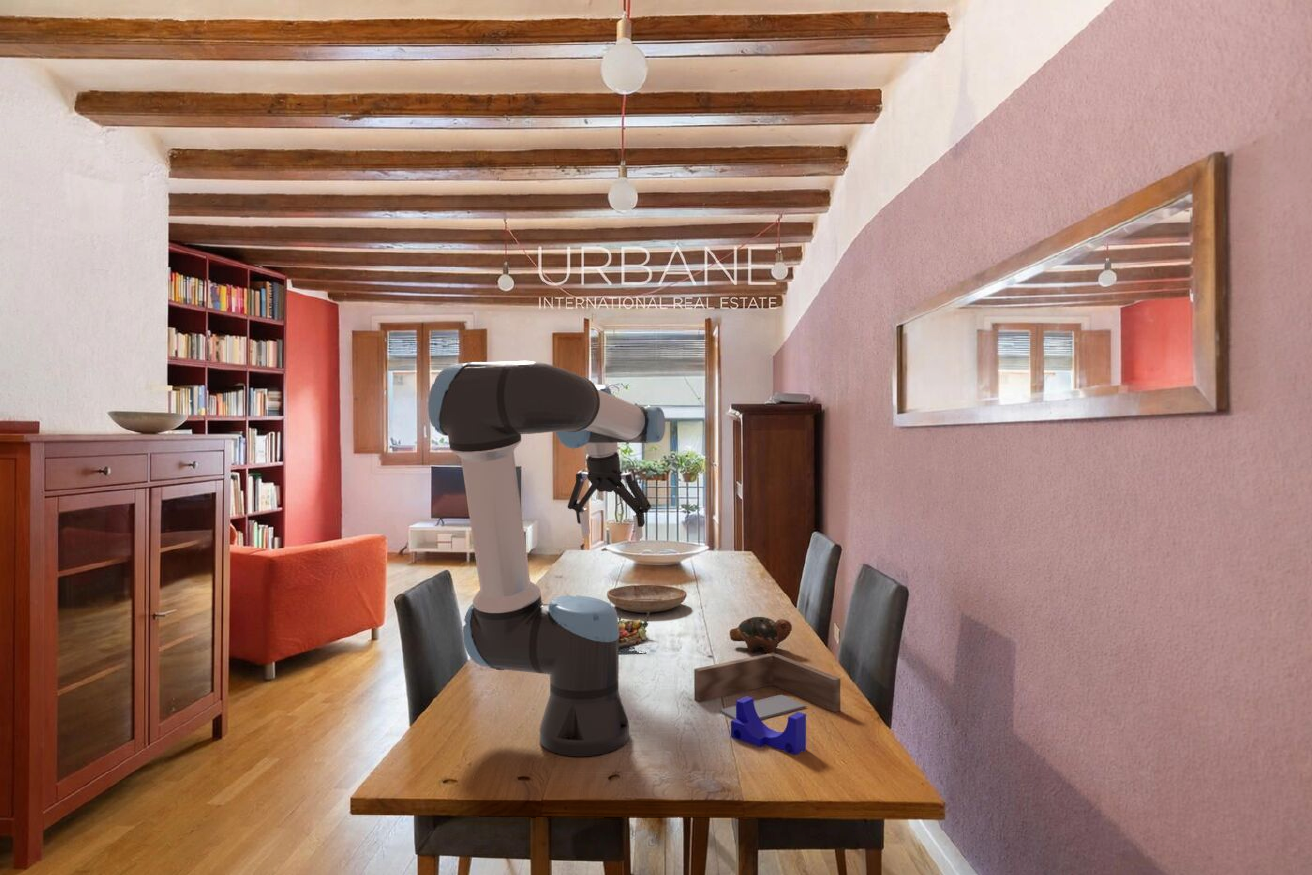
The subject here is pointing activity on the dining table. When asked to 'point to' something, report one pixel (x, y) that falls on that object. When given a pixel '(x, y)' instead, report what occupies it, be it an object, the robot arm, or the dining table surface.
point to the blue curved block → (768, 729)
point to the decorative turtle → (761, 633)
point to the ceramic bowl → (646, 598)
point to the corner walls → (767, 679)
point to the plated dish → (631, 634)
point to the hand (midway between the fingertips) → (612, 537)
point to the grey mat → (768, 707)
